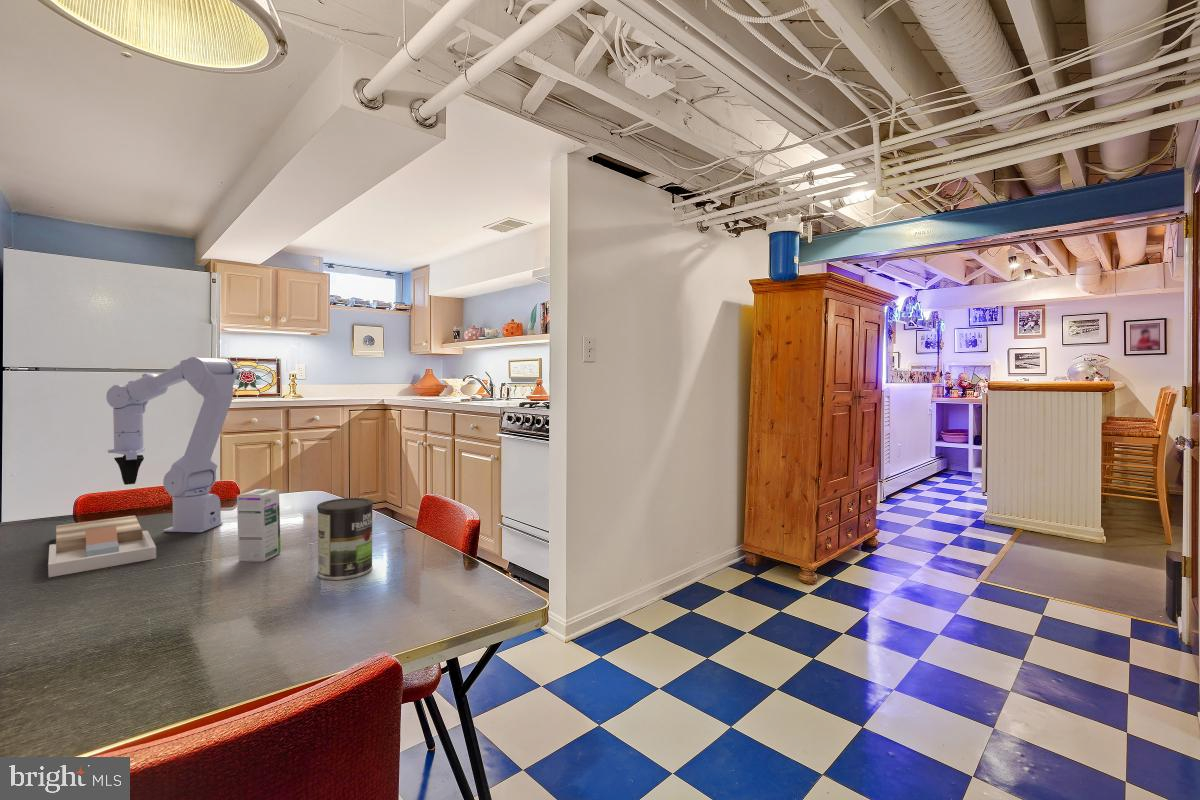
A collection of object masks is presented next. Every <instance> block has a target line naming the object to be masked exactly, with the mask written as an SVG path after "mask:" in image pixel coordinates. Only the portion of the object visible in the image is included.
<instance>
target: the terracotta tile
mask: <svg viewBox="0 0 1200 800" xmlns="http://www.w3.org/2000/svg"><path fill="white" fill-rule="evenodd" d="M85 539H86V545H92V544H99V543H105V542H112V541H118V539H117V529H116V526H114V527H107V528H100V529H92V530H85Z"/></svg>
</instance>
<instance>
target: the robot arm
mask: <svg viewBox="0 0 1200 800" xmlns="http://www.w3.org/2000/svg"><path fill="white" fill-rule="evenodd" d="M237 375H238V371H237V369H236V368H235V365H234V364H233V362H232V361H231V360H230V359H228V358H226V357H225V358H221V357H220V358H211V357H210V358H209V357H197V356H190V357H188V358H186V359H182V360H180V363H179V364H177V365H175V366H173V367H171V368H169V369H167V370H165V371H163V372H162V373H160V374H156V373H149V372H147V373H145V372H144V373H143V374H142V375H141V376H142V377H140V378H138V379H135V380H130V381H128V382H127V383H126V384H125V385H120V384H113V385H112V386H111V387H110V388H108V390H107V392H106V402H107V403H108V405H109V407H111V408H112V410H113V411H112V414H113V415H112V416H113V449H110V448H109V449H107V453H108V454H118V455H122V456H118V457H117V456H116V457H113V459H114V461H115V462H116V464H117V466H118V468H119V470H120V475H121V479H122V482H123V484H124V486H126V485H135V484H136V482H137V479H138V475H139V474H138V473H139V469H140V466H141V464H142V463H143V462H144V459H145V456H144V455H143V454H140V453H143V452H145V450H146V449H145V447H144V414H145V412H146V407H147V404H148V403H149V401H150V400H154V399H155V398H157V397H159V396H162V395H164V394H166V393H167V391H168V388H169V387H171V386H174V385H177V384H180V383H182V382H185V381H187V383H188V384H189V385H190V386H191V387H192V388H193V389H194V391H196V392H197V394H199V395H201V396H202V397H203V401H202V404H201V406H200V410H199V412H198V414H197V415H198V416H197V418H196V421H195V424H194V427H193V429H192V432H191V436H190V437H189V441H188V444H187V445H186V446H187V447H186V449H185V452H184V455H183V456H181V457H180V458H178V459H177V460H176V461H175V462H173V463H172V465H171V467H170V469H169V471H167V472H166V473H165V475H164V477H163V479H162V481H163V488H164V490H165V492H167V493H168V494H169V497H172V526H170V527H167V528H164V529H163V532H164V533H166V532H167V533H203V532H205V531H209V530H210V529H213V528H216V527H218V526H221V525H223V524H224V522H223V521H222V520H221V516H222V515H221V513H222V512H221V511H222V510H221V500H220V497H219V496H218V495H217V494H214V493H210V492H211V491H212V487H213V486H214V485H215V484H216V480H217V474H216V471H217V468H218V465H217V463H216V462H215V461H214V460H213V459H212V457H213V454H214V452H215V451H214V450H215V448H216V445H217V443H218V440H219V437H220V434H221V432H222V429H223V426H224V424H225V421H226V418H227V415H228V412H229V409H230V408H231V407H230V406H231V403H232V401H233V398H234V384H235V381H236V379H237Z"/></svg>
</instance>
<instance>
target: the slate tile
mask: <svg viewBox="0 0 1200 800" xmlns="http://www.w3.org/2000/svg"><path fill="white" fill-rule="evenodd" d="M114 552H119V545H118V541H112V542H105V543H99V544H92V545H86V557H90V556H96V555H102V554H108V553H114Z"/></svg>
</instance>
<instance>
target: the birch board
mask: <svg viewBox="0 0 1200 800" xmlns="http://www.w3.org/2000/svg"><path fill="white" fill-rule="evenodd" d="M114 526H116V529H117V539H118V543H124V542H131V541H137V540H142V531H143V528H142V526H141V525H140V523H139V520H138V519H137V516H136V515H128V516H122V517H121V516H120V517H113V518H105V519H97V520H90V521H82V522H75V523H74V522H73V523H67V524H66V523H65V524H61V525H60V524H59V525H56V528H55V530H56V531H55V532H56V533H55V534H56V535H55V538H56V539H55V544H56V553H60V552H66V551H73V550H79V549H85V548H86V539H85V530H92V529H100V528H107V527H114Z"/></svg>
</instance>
